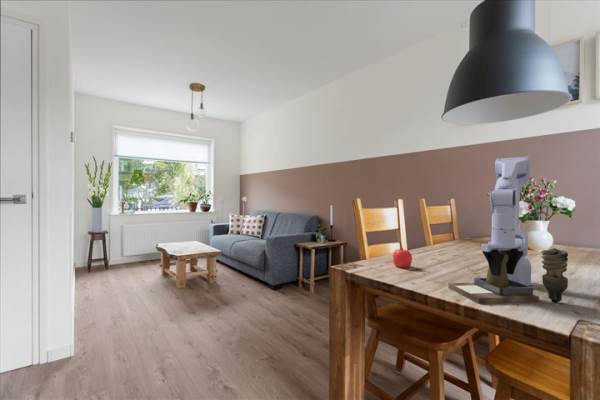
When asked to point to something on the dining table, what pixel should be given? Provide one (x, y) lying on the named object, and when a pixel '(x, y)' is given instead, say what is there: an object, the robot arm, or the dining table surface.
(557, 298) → the light bulb
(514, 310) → the dining table surface
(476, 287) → the mat
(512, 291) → the dark grey tray
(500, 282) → the cork
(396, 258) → the apple
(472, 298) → the walnut board
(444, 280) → the dining table surface
